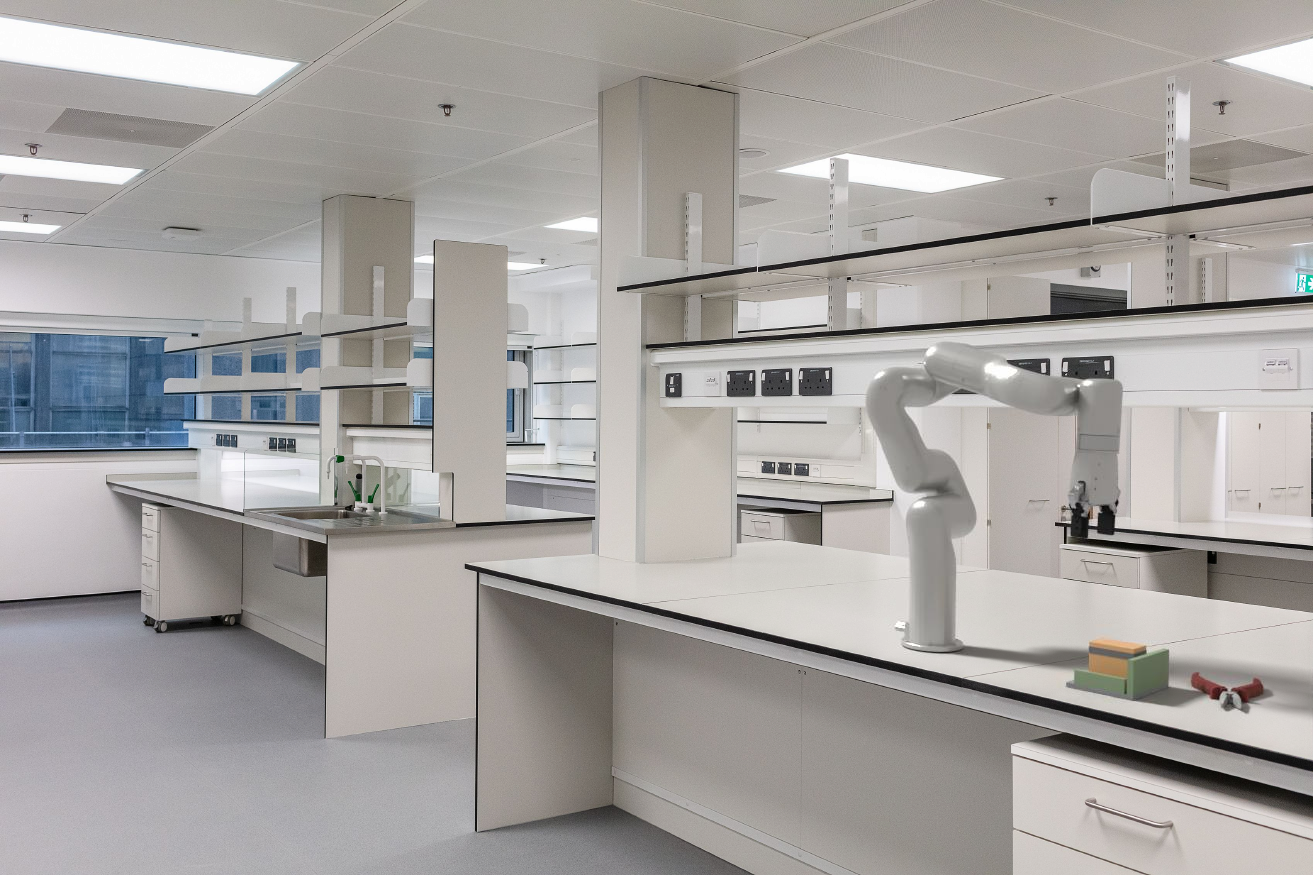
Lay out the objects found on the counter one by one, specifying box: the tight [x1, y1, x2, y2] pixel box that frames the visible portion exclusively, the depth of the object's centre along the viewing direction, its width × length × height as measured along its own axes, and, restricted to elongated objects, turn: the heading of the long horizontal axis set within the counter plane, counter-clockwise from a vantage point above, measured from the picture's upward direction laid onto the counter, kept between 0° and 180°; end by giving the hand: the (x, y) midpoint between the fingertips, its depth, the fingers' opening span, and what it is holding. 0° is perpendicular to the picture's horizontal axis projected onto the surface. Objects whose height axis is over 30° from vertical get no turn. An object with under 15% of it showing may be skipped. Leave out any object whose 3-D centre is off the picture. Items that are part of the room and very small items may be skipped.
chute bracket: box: [1065, 648, 1170, 701], centre depth 189 cm, size 12×14×7 cm
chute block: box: [1088, 637, 1148, 679], centre depth 189 cm, size 8×5×7 cm, turn 42°
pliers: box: [1190, 671, 1265, 710], centre depth 183 cm, size 12×20×3 cm, turn 154°
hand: (1092, 535), depth 198 cm, fingers open, 9 cm apart
